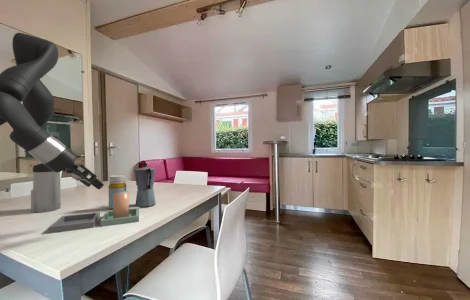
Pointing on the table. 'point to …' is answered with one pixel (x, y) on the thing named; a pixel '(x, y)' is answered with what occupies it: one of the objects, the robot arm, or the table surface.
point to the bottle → (116, 187)
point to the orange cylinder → (121, 204)
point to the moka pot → (145, 186)
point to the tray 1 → (75, 222)
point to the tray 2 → (110, 220)
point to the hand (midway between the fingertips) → (95, 185)
